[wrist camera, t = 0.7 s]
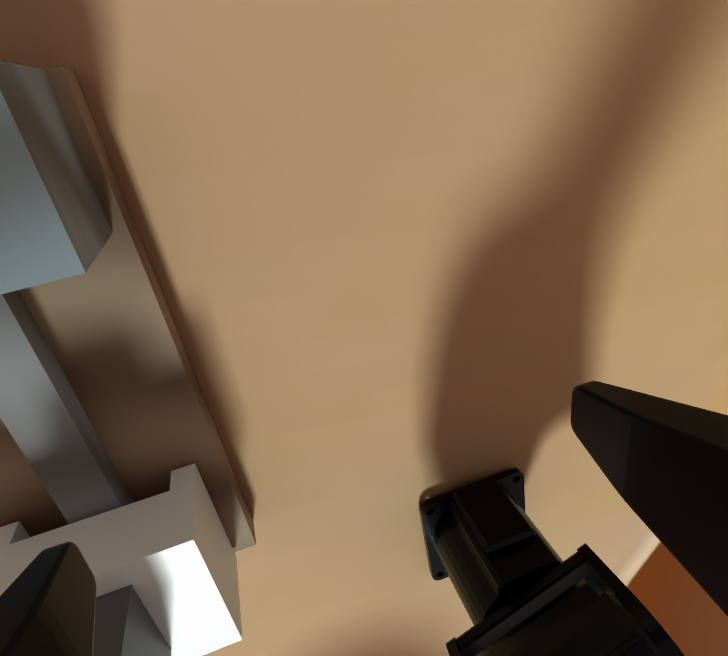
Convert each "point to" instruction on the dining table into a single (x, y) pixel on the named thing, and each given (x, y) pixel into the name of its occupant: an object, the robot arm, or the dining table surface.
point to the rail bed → (87, 331)
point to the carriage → (149, 572)
